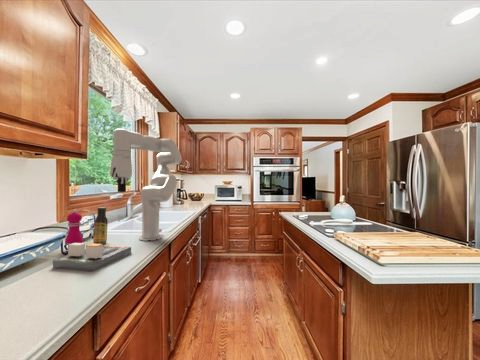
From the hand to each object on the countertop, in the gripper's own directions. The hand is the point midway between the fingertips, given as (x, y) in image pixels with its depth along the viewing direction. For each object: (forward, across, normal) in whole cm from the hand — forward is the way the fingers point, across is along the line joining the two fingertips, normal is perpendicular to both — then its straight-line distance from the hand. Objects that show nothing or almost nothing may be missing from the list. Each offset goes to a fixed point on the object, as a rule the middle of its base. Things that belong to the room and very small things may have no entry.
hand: (121, 191), depth 108 cm
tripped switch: (+26, +19, +3) cm, 32 cm away
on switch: (+26, +18, -6) cm, 32 cm away
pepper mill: (+29, +3, -24) cm, 38 cm away
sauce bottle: (+29, -9, -20) cm, 37 cm away
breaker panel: (+29, +13, -2) cm, 32 cm away
